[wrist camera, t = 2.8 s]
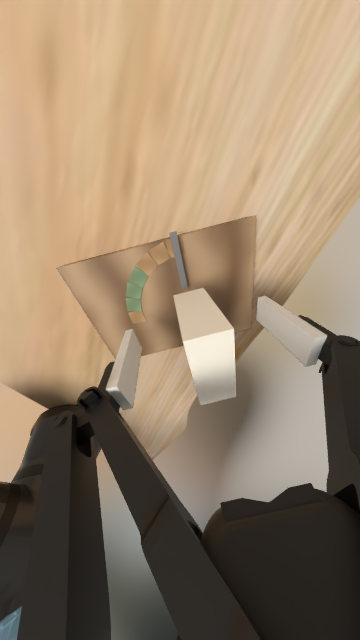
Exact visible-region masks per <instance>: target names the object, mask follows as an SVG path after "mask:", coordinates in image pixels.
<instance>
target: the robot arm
mask: <svg viewBox="0 0 360 640" xmlns="http://www.w3.org/2000/svg"><path fill="white" fill-rule="evenodd" d="M256 320H257V321H258V322H259V323H260V324H261V325H262V326H263V327H264V328H265V329H266V330H268V331H269V332H270V333H271V334H272V335H273V336H274V337H275V338H276V339H277V340H278V341H279V342H280V343H281V344H282V345H283V346H284V347H285V348H286V349H287V350H289V351H290V352H291V353H292V354H293V355H294V356H295V357H296V358H297V359H298V360H299V361H300V362H301V363H302V364H303V365H304V366H305V367H306V366H310V365H315V364H316V363H317V360H318V359H320V360H321V361H322V362H323V363H322V365H321V367H320V370H319V373H321V371H322V380H323V394H324V407H325V420H326V435H327V448H328V462H329V473H328V478H327V492H324V491H321V490H318V489H314V488H313V486H312V484H311V483H308V484H304V485H300V486H295V487H290V488H288V489H286V490H285V491H284V492H282V493H281V494H280V495H279V496H277V497H276V498H275V499H274V500H272V501H271V502H262V501H256V500H250V499H244V498H241V499H236V500H231V501H227V502H222V503H221V508H220V509H218V510H217V511H216V512H215V513H214V514H213V515H212V517H211V518H210V520H209V521H208V523H207V525H206V527H205V530H204V532H202V531H201V529H200V528H199V526H198V525H197V524H196V522H195V520H194V519H193V518H192V516H191V515H190V513H189V512H188V511H187V509H186V508H185V507H184V506H183V504H182V503H181V502H180V501H179V499H178V497H177V496H176V494H175V493H174V492H173V490H172V489H171V487H170V486H169V484H168V483H167V481H166V480H165V478H164V477H163V475H162V474H161V472H160V471H159V470H158V468H157V467H156V465H155V464H154V462H153V461H152V459H151V458H150V456H149V455H148V454H147V452H146V451H145V449H144V448H143V446H142V445H141V443H140V442H139V440H138V439H137V438H136V436H135V435H134V433H133V432H132V430H131V429H130V427H129V426H128V424H127V423H126V421H125V420H124V419H123V417H122V416H121V414H120V413H119V408H120V407H121V408H122V409H123V410H126V409H130V408H133V404H134V398H135V391H136V385H137V378H138V371H139V365H140V358H141V352H142V347H141V345H140V343H139V341H138V339H137V337H136V335H135V332H134V330H133V329H130V330H126V331H125V334H124V337H123V339H122V342H121V345H120V348H119V351H118V354H117V357H116V360H115V362H110V363H109V365H108V366H107V367H106V369H105V371H104V374H103V376H102V379H101V382H100V384H99V387H98V388H97V387H90V388H88V389H86V390H85V391H84V392H83V393H81V395H80V396H79V398H78V400H77V405H79V406H60V407H55V408H52V409H49V410H47V411H45V412H44V413H42V414H41V415H40V417H39V418H38V419H37V421H36V423H35V424H34V426H33V428H32V430H31V434H30V436H31V438H30V440H29V443H28V446H27V448H26V451H25V455H24V458H23V461H22V464H21V466H20V468H19V470H18V472H17V473H16V475H15V477H14V479H13V480H12V482H11V483H7V482H0V640H111V623H110V606H109V593H108V583H107V572H106V561H105V551H104V541H103V530H102V519H101V508H100V498H99V488H98V477H97V466H96V458H97V456H98V454H99V452H100V450H101V448H102V450H103V452H104V455H105V456H106V459H107V461H108V463H109V466H110V468H111V470H112V472H113V474H114V476H115V479H116V481H117V483H118V485H119V488H120V490H121V492H122V494H123V496H124V499H125V501H126V503H127V505H128V507H129V510H130V512H131V514H132V516H133V518H134V520H135V523H136V525H137V527H138V529H139V532H140V535H141V545H142V549H143V552H144V555H145V557H146V560H147V562H148V565H149V567H150V569H151V572H152V574H153V576H154V578H155V581H156V583H157V585H158V588H159V590H160V592H161V595H162V597H163V599H164V602H165V604H166V606H167V608H168V611H169V613H170V615H171V617H172V620H173V622H174V625H175V627H176V629H177V631H178V635H177V639H176V640H360V341H358V340H357V339H355V338H352V337H349V336H342V335H339V336H337V335H335V334H333V333H332V332H330V331H329V330H327V329H326V328H324V327H322V326H321V325H319V324H317V323H316V322H314V321H312V320H311V319H309V318H307V317H304V316H301V315H300V316H296V315H295V314H293V313H292V312H290V311H288V310H287V309H285V308H284V307H282V306H281V305H279V304H278V303H276V302H274V301H273V300H271V299H270V298H268V297H267V296H262V297H258V302H257V318H256Z"/></svg>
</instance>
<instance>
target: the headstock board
mask: <svg viewBox="0 0 360 640" xmlns="http://www.w3.org/2000/svg"><path fill="white" fill-rule="evenodd" d="M255 231H256V216H251V217H245V218H241V219H237V220H234V221H230V222H226V223H222V224H218V225H215V226H211V227H207V228H203V229H199V230H196V231H192V232H188V233H184V234H180V235H177V237H178V242H179V247H180V252H181V257H182V262H183V267H184V272H185V277H186V281H187V286H188V288H187V289H183V290H182V287H181V283H180V279H179V274H178V270H177V265H176V261H175V257H174V252H173V248H172V243H171V239H170V237H169V238H165V239H161V240H158V241H154V242H150V243H146V244H142V245H138V246H135V247H131V248H127V249H123V250H119V251H116V252H112V253H108V254H104V255H100V256H97V257H93V258H89V259H85V260H81V261H78V262H74V263H70V264H66V265H64V266H61V267H58V268H56V269H57V270H58V272H59V273H60V275H61V276H62V278H63V279H64V281H65V282H66V284H67V285H68V287H69V289H70V290H71V292H72V293H73V295H74V296H75V298H76V299H77V301H78V302H79V304H80V305H81V307H82V309H83V310H84V312H85V313H86V315H87V316H88V318H89V319H90V321H91V322H92V324H93V325H94V327H95V329H96V330H97V332H98V333H99V335H100V336H101V338H102V339H103V341H104V342H105V344H106V345H107V347H108V349H109V350H110V352H111V353H112V355H113V356H114V358H115V359H116V357H117V354H118V351H119V348H120V345H121V342H122V339H123V337H124V334H125V331H126V330H130V329H133V330H134V332H135V335H136V337H137V339H138V341H139V343H140V345H141V347H142V352H141V356H144V355H148V354H152V353H156V352H160V351H164V350H168V349H172V348H176V347H180V346H184V344H183V340H182V336H181V331H180V326H179V321H178V316H177V311H176V307H175V302H174V297H173V295H177V294H181V293H185V292H188V291H192V290H196V289H200V288H204V289H205V291H206V292H207V293H208V295H209V296H210V297H211V299H212V300H213V301H214V303H215V304H216V305H217V307H218V308H219V309H220V311H221V312H222V313H223V315H224V316H225V317H226V319H227V320H228V321H229V323H230V324H231V325H232V327H233V328H234V333H235V332H239V331H243V330H247V329H251V324H252V301H253V278H254V254H255Z"/></svg>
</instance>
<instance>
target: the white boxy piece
mask: <svg viewBox="0 0 360 640" xmlns="http://www.w3.org/2000/svg"><path fill="white" fill-rule="evenodd" d="M169 234H170V239H171V243H172V248H173V252H174V257H175V261H176V265H177V270H178V274H179V279H180V283H181V287H182V290H183V289H187V288H188V286H187V281H186V277H185V272H184V267H183V262H182V257H181V252H180V247H179V242H178V237H177V232H172V233H169ZM173 297H174V302H175V307H176V311H177V316H178V321H179V326H180V331H181V336H182V340H183V344H184V348H185V351H186V355H187V359H188V362H189V366H190V369H191V373H192V377H193V380H194V384H195V387H196V391H197V395H198V398H199V402H200V405H204V404H208V403H212V402H216V401H220V400H224V399H229V398H233V397H236V375H235V344H234V328H233V327H232V325H231V324H230V323H229V321H228V320H227V319H226V317H225V316H224V315H223V313H222V312H221V311H220V309H219V308H218V307H217V305H216V304H215V303H214V301H213V300H212V299H211V297H210V296H209V295H208V293H207V292H206V291H205V289H204V288H200V289H196V290H192V291H188V292H185V293H181V294H177V295H173Z"/></svg>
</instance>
